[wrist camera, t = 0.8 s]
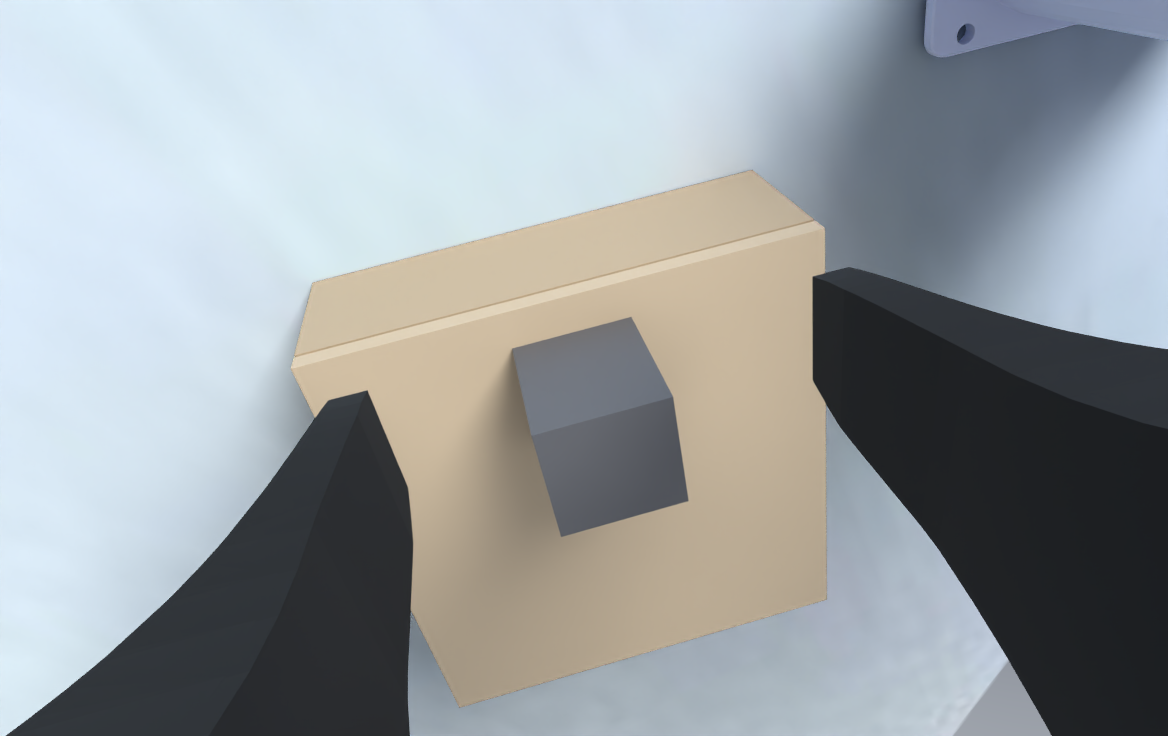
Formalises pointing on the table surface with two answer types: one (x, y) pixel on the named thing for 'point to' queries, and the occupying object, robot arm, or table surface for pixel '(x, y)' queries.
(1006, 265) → the table surface
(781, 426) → the sliding lid
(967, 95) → the table surface
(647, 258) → the carton
